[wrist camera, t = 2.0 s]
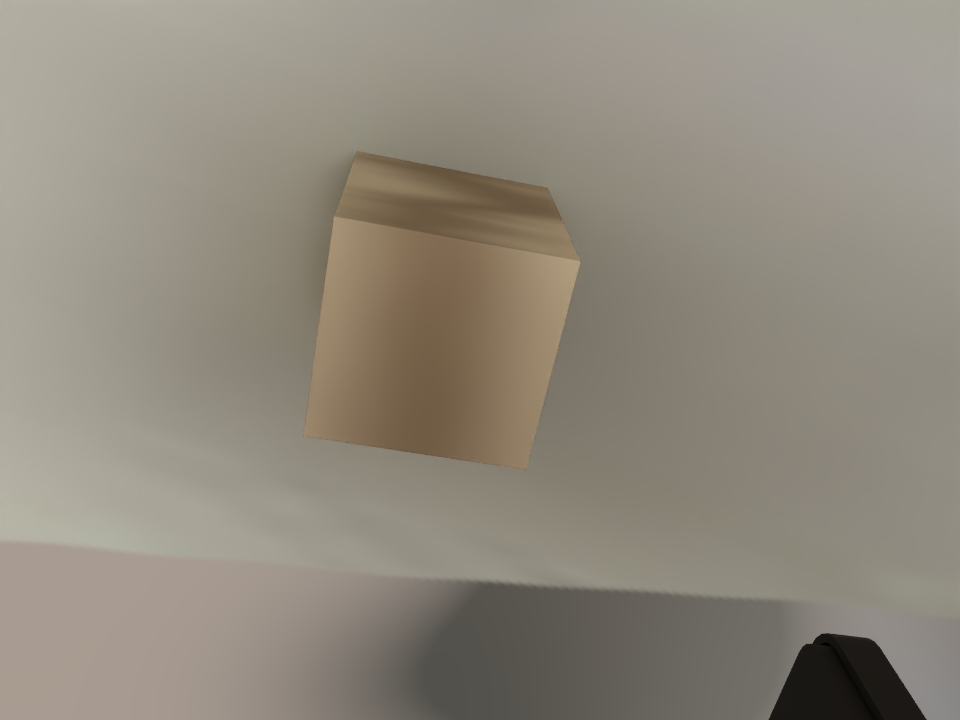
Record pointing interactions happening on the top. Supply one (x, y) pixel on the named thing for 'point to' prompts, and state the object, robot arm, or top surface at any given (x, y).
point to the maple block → (439, 313)
